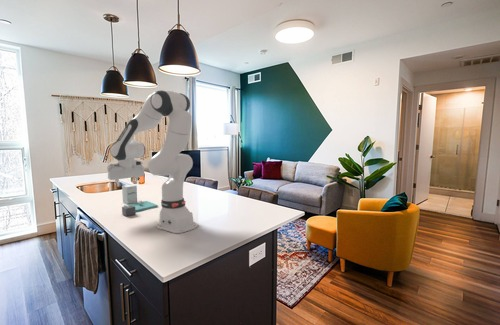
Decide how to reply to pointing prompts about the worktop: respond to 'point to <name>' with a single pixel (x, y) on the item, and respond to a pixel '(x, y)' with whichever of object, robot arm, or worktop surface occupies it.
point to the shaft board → (143, 205)
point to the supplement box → (129, 194)
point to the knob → (128, 210)
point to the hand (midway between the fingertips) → (127, 185)
